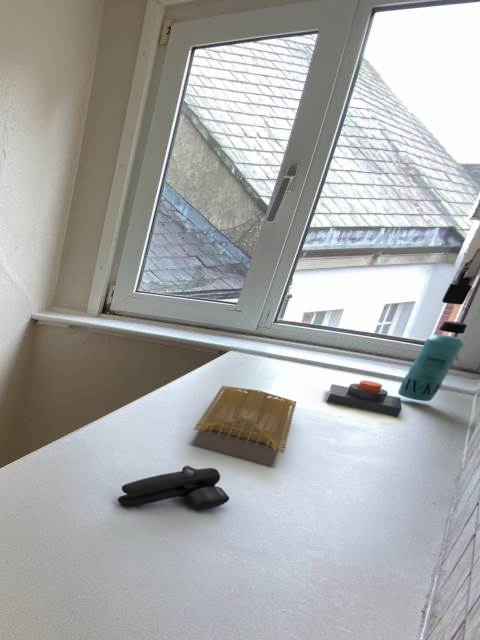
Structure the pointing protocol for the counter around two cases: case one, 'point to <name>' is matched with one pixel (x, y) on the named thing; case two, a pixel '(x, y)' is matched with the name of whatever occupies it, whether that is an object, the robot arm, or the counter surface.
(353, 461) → the counter surface
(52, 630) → the counter surface
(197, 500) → the can opener
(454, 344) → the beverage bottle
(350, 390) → the switch box
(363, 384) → the button
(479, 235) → the robot arm
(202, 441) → the rafter model
